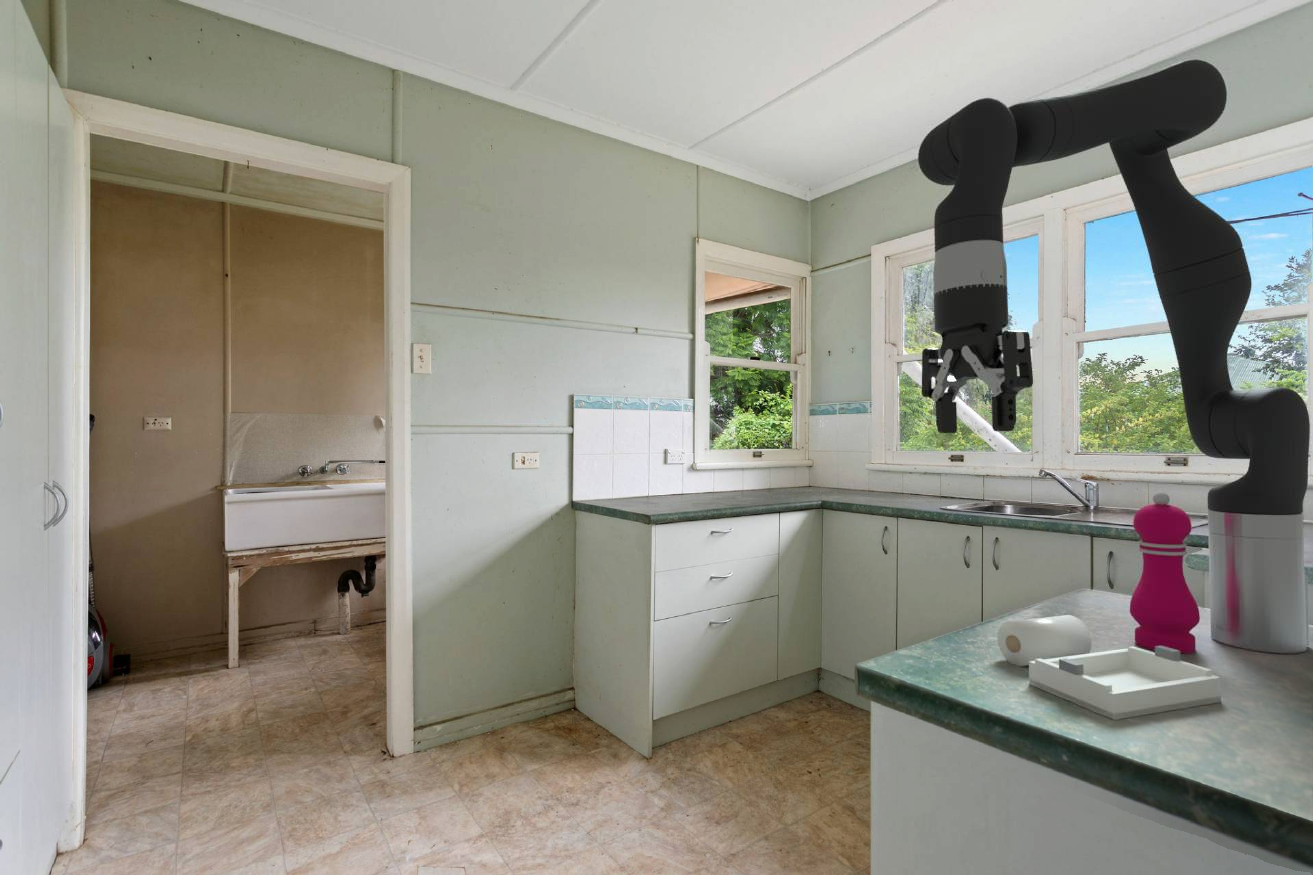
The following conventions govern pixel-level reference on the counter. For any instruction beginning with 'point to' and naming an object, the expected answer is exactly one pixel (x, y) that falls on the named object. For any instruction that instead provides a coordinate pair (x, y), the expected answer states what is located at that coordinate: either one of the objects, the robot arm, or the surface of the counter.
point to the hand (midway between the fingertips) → (973, 432)
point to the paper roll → (1043, 639)
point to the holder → (1127, 681)
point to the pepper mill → (1163, 579)
